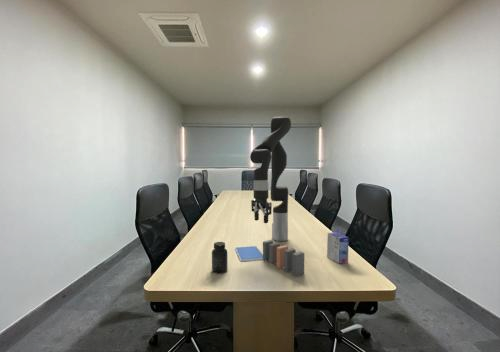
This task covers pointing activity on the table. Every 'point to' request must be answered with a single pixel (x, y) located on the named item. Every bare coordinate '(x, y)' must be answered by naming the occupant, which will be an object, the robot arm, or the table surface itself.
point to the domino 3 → (281, 256)
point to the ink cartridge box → (337, 247)
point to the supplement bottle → (219, 258)
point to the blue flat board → (249, 253)
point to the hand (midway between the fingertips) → (261, 221)
